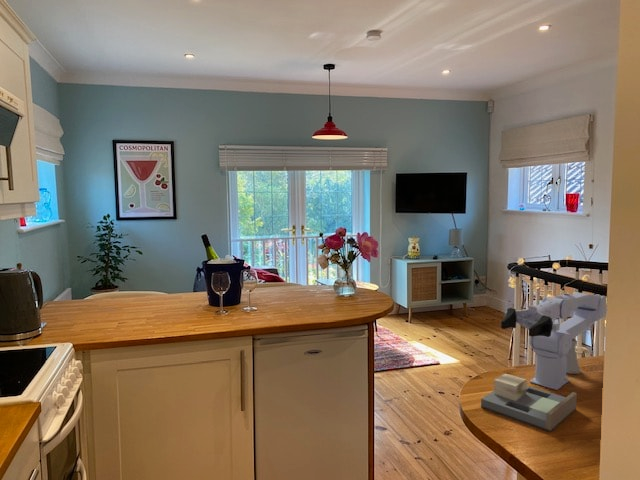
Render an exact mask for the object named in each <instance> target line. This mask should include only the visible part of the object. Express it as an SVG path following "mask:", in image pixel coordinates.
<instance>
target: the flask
mask: <svg viewBox="0 0 640 480" xmlns="http://www.w3.org/2000/svg"><path fill="white" fill-rule="evenodd" d="M575 343H577V340H576V339H575V338H573V339H572V348H571V349H570V350H569V352H568V353H567V354H566V355H565V356H566V359H567V370H566V374H571V375H575V374H577V375H578V374H580V373H581V369H580V364H579V361H578V358H577V354H576V347H575V345H576V344H575Z"/></svg>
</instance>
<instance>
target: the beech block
mask: <svg viewBox="0 0 640 480" xmlns="http://www.w3.org/2000/svg"><path fill="white" fill-rule="evenodd" d="M493 380H494V381H493V382H494V383H493V386H494V387H493V391H494V394H496V395H499V396H502V397H505V398H508V399H511V400H514V401H516V400H518V399H519V398H521V397H522V396H523V395H525V394H526V386H527V379H526V378H522V377H520V376H515V375H512V374H507V373H504V374H502V375H500V376H498V377H497V378H495V379H493Z"/></svg>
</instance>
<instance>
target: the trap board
mask: <svg viewBox="0 0 640 480" xmlns="http://www.w3.org/2000/svg"><path fill="white" fill-rule="evenodd" d="M577 395H578V394H577V392H574V391H572V392H571V393H569V394H568V395H567V396H563V395H559V394H556V393H552V392H549V391H545V390H542V389H539V388H536V387H532V386H529V385H526V394H525V395H523V396H522V397H521V398H519V399H518V400H516V401H514V400H511V399H508V398H505V397H502V396H499V395H496V394H494V390H493V391H491V392H490V393H488V394H486V395H484V396H483V397H481V399H480V401H481V402H480V408H481V409H484V410H487V411H489V412H492V413H496V414H497V415H501V416H504V417H506V418H510V419H512V420H514V421H517V422H521V423H523V424H525V425H529V426H531V427H535V428H537V429H540V430H543V431H545V432H549V433H551V432H553V431H554V430H555V429H556V428H557V427H558V426H559V425H561V424H562V422H564V421H565V420H566V419H567V418H569V417H570V416H571V415H572V414H573V413H574V412H576V410H577V401H578V400H577V397H578V396H577Z"/></svg>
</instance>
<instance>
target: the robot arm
mask: <svg viewBox="0 0 640 480" xmlns="http://www.w3.org/2000/svg"><path fill="white" fill-rule="evenodd" d="M606 297H607V296H606V295H597V294H591V293H584V292H579V291H574V292H572V294H571V293H569V292H564V293H563V294H559V295H556V296H553V297H552V296H544V297H543V298H542V299H541V302H539V303H538V304H537V305H535V306H534V305H529V306H528V308H527V309H519V310H517V309H516V308H512V307H509V308H507V310H506V311H505V312H504V318H503V319H502V320H501V323H500V325H501V326H500V327H501V329H502V330H506V329H509V328H512V329H513V328H514V329H516V328H517V324H519V326H522V327H523V328H525V329H526V330H528V336H529V338H528V341H529V345H530V348H531V349H533V353H535V373H534V377H533V378H531V379H530V380H529V383H531V384H534V385H538V386H542V387H545V388H548V389H552V390H556V391H557V390H559V389H560V388H562V387H564V385H565V384H567V383H568V382H569V381H571V379H570V378H567V373H566V370H567V359H566V356H565V355H566V354H567V353H568V352H569V350H570V349H571V348H572V339H575V338H577V337H578V336H579V335H582V334H583V333H585V332H586V331H588V330H589V329H590V327H592V325H593V324H594V323H596V322H598V321H600V320H601V319H603V318H604V317H605V316H606V315H607V312H606ZM605 314H606V315H605ZM568 317H570V318H568ZM567 318H568V319H567ZM557 319H561V320H562V319H563V320H565V321H562V322H561V323H560V322H558V321H555V320H557Z"/></svg>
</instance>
